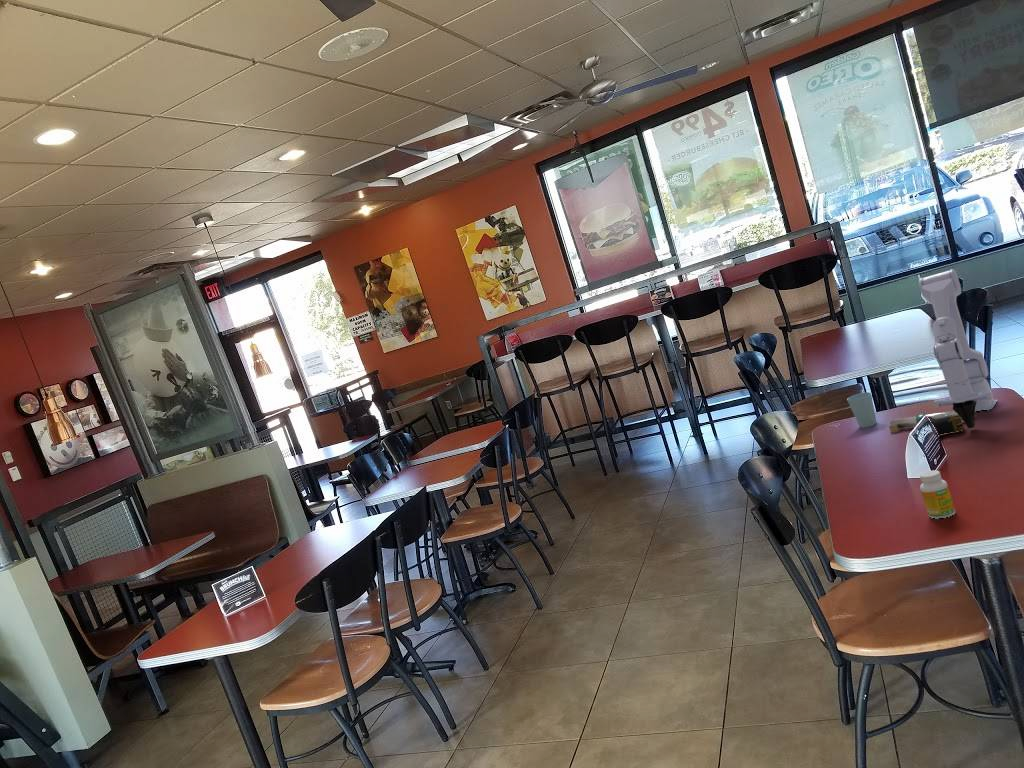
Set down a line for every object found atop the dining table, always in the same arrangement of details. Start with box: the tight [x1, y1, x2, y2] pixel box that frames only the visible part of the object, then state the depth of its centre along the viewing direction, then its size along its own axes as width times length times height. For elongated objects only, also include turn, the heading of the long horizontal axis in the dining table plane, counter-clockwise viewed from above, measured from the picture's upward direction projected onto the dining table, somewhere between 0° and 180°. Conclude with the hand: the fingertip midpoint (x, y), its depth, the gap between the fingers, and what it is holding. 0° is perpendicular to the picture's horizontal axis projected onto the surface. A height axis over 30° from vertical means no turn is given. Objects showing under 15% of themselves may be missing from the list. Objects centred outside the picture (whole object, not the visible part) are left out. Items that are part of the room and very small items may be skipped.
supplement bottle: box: [919, 470, 957, 520], centre depth 169 cm, size 5×5×10 cm
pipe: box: [888, 410, 963, 434], centre depth 236 cm, size 22×5×4 cm, turn 47°
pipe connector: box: [917, 415, 965, 435], centre depth 223 cm, size 12×5×15 cm
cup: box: [846, 392, 877, 429], centre depth 260 cm, size 8×8×10 cm
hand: (971, 426), depth 218 cm, fingers closed
